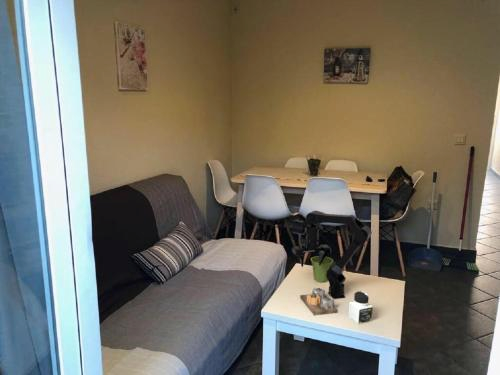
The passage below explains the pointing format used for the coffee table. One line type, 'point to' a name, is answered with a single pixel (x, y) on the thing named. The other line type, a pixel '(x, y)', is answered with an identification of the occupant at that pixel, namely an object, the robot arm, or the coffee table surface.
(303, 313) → the coffee table surface
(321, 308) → the gear board
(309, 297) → the orange gear
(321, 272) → the plant pot
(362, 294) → the medicine bottle
